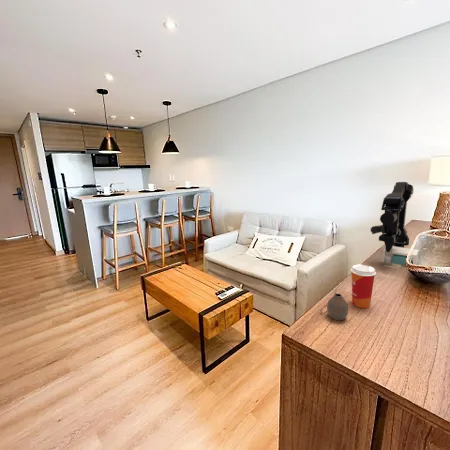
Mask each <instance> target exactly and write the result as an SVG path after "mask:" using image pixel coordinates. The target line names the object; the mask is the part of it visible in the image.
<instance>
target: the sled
mask: <svg viewBox="0 0 450 450" xmlns="http://www.w3.org/2000/svg"><path fill="white" fill-rule="evenodd" d="M384 246H385V245H384ZM384 248H385V257H384V262H383V265H382V267H388V268H393V269H398V270H400V269H401V267H402V266H406V265H402V264H396V263H391V262H392V255H393V254H392V248H393V246H392V248H391V250H390V252H387V251H386V246H385V247H384ZM406 267H407V266H406Z"/></svg>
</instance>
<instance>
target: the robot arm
mask: <svg viewBox="0 0 450 450" xmlns="http://www.w3.org/2000/svg"><path fill="white" fill-rule="evenodd" d="M413 194H414V186H413V185H412V184H409V182H406V181H397V182H395V184H394V186H393V189H392V191H391V193H388V194H386V196H385V197H383V201H382V205H381V208H380V210H381V211H384V213H382V214H381V215H380V217H379V221H380V223H382V224H380V225H375V226H374V225H373V226H372V227H370V232H371V234H372V235H375V234H379V233H381V234H380V235H379V236H378V241H380V242H383V243H384V246H386V251H387V252H390V250H391V248H392V246H394V247H402V248H405V246H406V247H407V246H409V245H410V238H409V235H408V231H407V229H406V227H405V223H406V214H407V205H408V201H409V200H410V199H411V198H412V196H413Z"/></svg>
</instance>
